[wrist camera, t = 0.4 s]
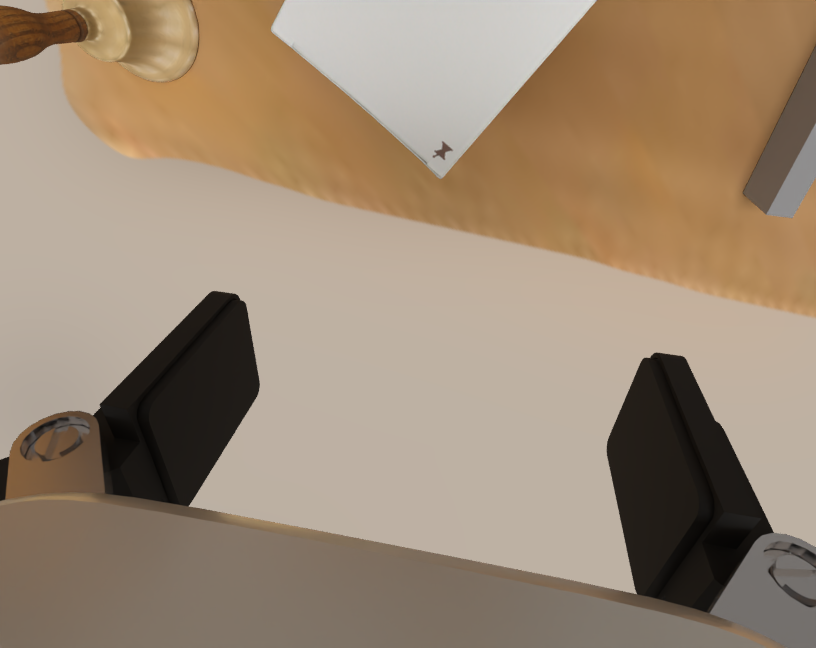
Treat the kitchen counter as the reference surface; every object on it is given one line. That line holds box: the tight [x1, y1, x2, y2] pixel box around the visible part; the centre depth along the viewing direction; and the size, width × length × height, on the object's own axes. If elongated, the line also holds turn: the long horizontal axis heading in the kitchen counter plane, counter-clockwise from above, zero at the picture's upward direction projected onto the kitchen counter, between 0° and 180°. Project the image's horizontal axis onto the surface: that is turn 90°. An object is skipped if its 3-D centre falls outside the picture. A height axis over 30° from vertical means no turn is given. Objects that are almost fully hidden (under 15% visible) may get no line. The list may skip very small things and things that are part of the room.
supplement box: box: [271, 0, 597, 179], centre depth 24 cm, size 10×9×17 cm
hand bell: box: [0, 0, 199, 82], centre depth 29 cm, size 8×8×16 cm
